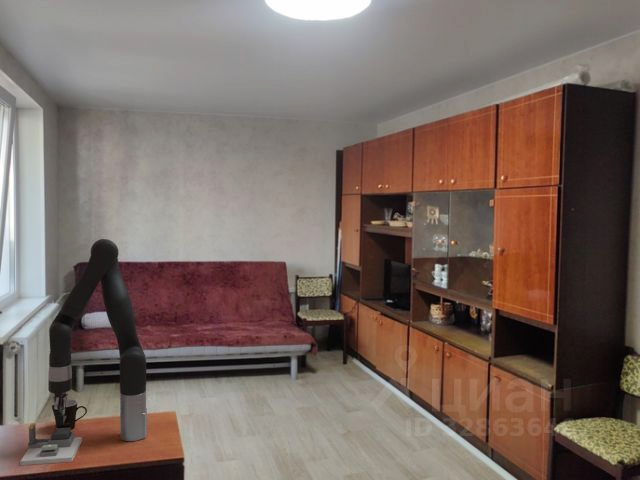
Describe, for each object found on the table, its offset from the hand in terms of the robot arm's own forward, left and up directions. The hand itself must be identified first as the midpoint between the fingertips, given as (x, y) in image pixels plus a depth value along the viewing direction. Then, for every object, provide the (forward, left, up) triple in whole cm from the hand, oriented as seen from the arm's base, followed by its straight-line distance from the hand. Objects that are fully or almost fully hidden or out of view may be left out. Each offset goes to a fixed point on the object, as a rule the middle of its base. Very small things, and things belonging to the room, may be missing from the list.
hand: (60, 424), depth 197 cm
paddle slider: (+9, 0, -6) cm, 11 cm away
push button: (0, 0, -5) cm, 5 cm away
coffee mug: (+1, -16, -9) cm, 18 cm away
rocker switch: (+2, +8, -5) cm, 10 cm away
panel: (+2, +4, -8) cm, 9 cm away
